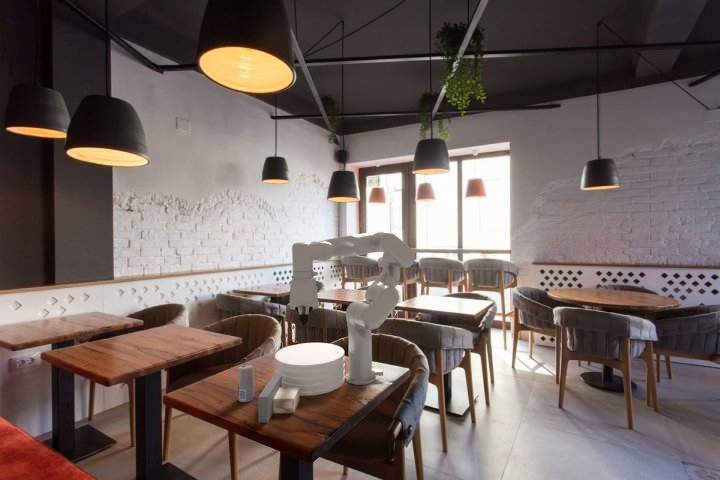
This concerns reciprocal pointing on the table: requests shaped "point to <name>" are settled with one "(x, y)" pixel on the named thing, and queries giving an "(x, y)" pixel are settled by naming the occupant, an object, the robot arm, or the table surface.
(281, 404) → the cream block
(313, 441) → the table surface
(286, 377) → the plate stack
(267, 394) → the gray board
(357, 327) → the robot arm
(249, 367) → the energy drink
